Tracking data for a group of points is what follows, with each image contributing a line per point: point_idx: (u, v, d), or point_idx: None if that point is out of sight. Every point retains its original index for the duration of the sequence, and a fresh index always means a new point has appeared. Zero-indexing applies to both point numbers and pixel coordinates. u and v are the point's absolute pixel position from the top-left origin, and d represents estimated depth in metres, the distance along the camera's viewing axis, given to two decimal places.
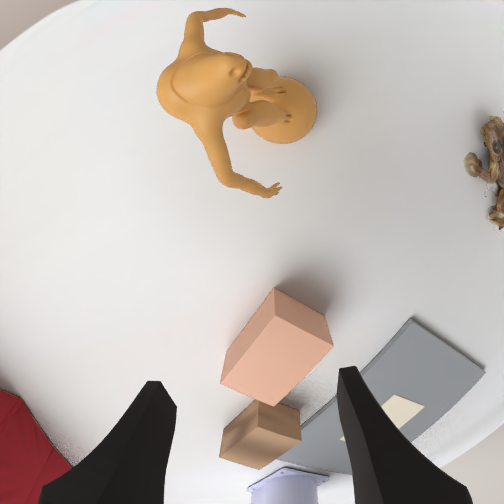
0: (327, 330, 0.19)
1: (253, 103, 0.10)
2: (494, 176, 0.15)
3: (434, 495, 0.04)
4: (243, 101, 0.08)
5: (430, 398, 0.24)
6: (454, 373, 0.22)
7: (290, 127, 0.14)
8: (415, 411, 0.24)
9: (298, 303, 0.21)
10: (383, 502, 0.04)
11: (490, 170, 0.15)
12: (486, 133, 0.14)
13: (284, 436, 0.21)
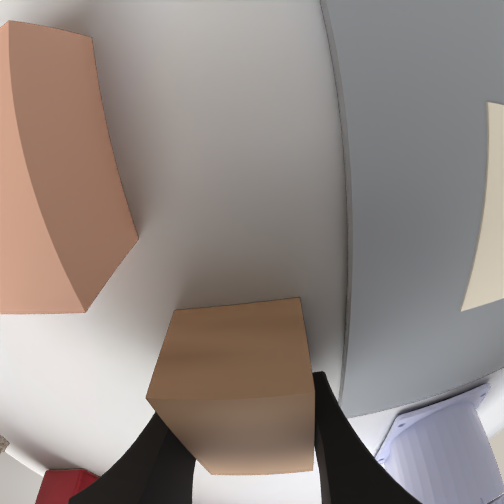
0: (47, 31, 0.04)
1: None
2: None
3: None
4: None
5: None
6: None
7: None
8: None
9: None
10: None
11: None
12: None
13: (244, 400, 0.07)
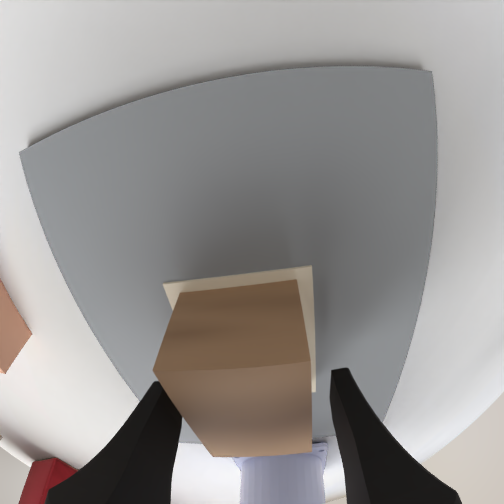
0: None
1: None
2: None
3: (423, 499, 0.04)
4: None
5: (300, 239, 0.10)
6: (283, 131, 0.08)
7: None
8: None
9: None
10: None
11: None
12: None
13: (245, 370, 0.08)
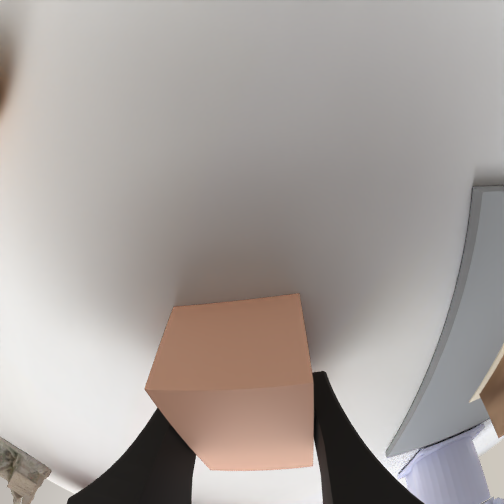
0: (300, 336, 0.08)
1: None
2: None
3: None
4: None
5: None
6: None
7: None
8: None
9: (226, 307, 0.10)
10: None
11: None
12: None
13: None
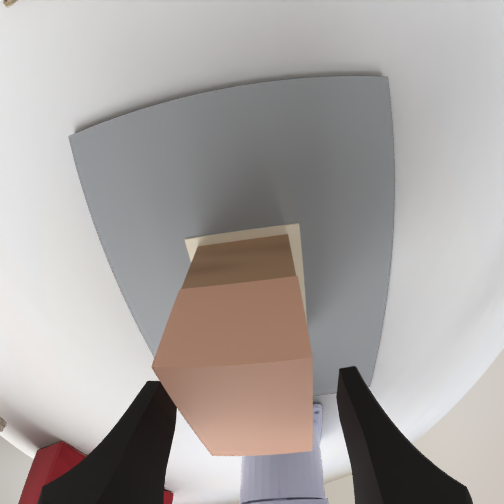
0: (299, 316, 0.09)
1: None
2: None
3: (434, 495, 0.04)
4: None
5: (289, 202, 0.14)
6: (276, 124, 0.12)
7: None
8: None
9: (229, 291, 0.11)
10: (383, 502, 0.04)
11: None
12: None
13: None
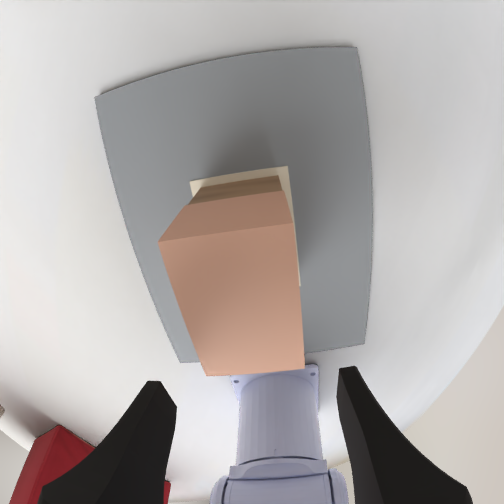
0: (283, 206, 0.11)
1: None
2: None
3: (434, 495, 0.04)
4: None
5: (278, 147, 0.16)
6: (266, 84, 0.14)
7: None
8: None
9: (226, 201, 0.13)
10: (383, 502, 0.04)
11: None
12: None
13: None
